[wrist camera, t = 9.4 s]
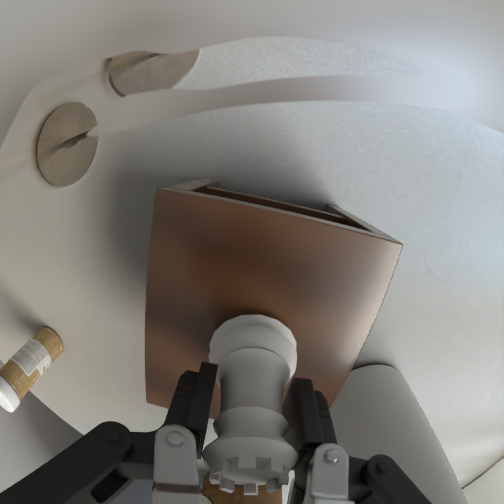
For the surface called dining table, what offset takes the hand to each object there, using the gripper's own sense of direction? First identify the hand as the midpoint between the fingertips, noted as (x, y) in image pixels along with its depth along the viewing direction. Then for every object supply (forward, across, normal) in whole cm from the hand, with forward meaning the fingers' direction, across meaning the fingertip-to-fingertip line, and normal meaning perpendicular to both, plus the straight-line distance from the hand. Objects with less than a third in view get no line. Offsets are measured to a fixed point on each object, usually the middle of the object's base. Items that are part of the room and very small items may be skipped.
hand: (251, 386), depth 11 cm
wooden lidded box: (+15, 0, 0) cm, 15 cm away
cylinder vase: (+15, -17, +15) cm, 27 cm away
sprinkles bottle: (+15, +25, +17) cm, 34 cm away
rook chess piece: (+3, 0, 0) cm, 3 cm away
